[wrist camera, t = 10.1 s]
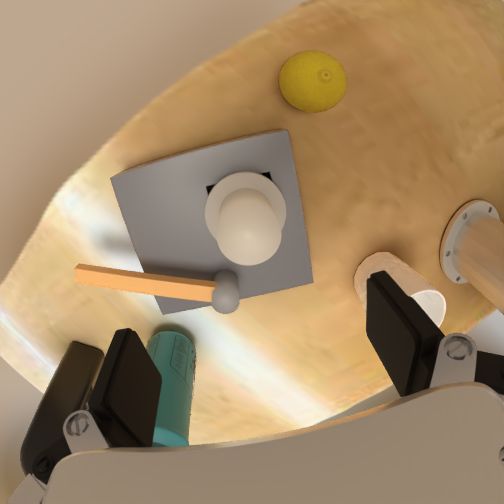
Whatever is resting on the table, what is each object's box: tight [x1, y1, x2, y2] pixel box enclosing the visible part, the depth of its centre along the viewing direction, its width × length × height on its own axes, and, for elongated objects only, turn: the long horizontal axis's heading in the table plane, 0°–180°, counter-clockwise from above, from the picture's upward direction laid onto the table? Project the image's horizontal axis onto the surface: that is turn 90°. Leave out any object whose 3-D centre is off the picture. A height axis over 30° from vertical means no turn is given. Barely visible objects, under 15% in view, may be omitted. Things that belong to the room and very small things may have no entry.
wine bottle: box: [20, 342, 104, 476], centre depth 24 cm, size 6×6×30 cm
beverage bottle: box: [146, 331, 197, 447], centre depth 28 cm, size 6×7×20 cm
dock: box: [110, 129, 314, 315], centre depth 29 cm, size 16×15×4 cm
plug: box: [205, 171, 286, 265], centre depth 25 cm, size 7×7×10 cm
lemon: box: [279, 51, 347, 112], centre depth 22 cm, size 6×6×8 cm
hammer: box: [75, 264, 239, 314], centre depth 26 cm, size 16×2×4 cm, turn 81°
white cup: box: [354, 252, 446, 328], centre depth 30 cm, size 8×8×10 cm
